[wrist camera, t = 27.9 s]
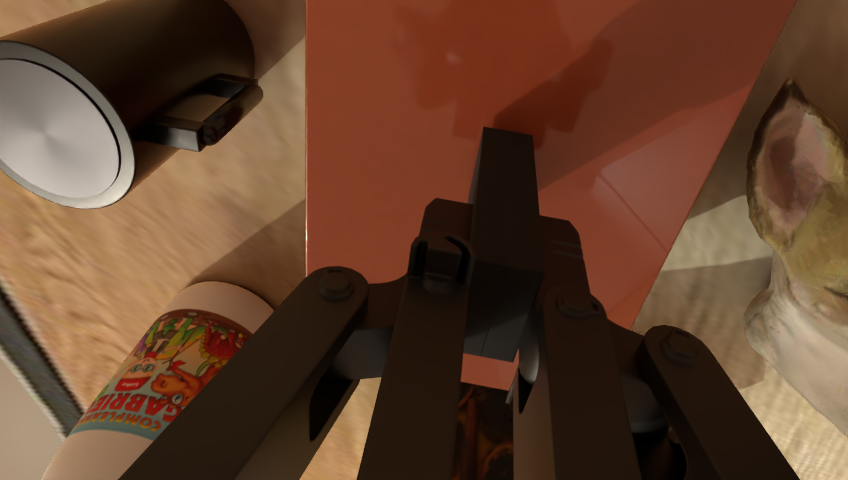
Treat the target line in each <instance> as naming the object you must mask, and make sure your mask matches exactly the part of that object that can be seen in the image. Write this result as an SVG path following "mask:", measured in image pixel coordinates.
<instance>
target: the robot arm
mask: <svg viewBox="0 0 848 480" xmlns="http://www.w3.org/2000/svg"><path fill="white" fill-rule="evenodd" d="M518 348H519V365H518V367H517V370H516V373H515V376H514V378H513V381H512V384H511V387H510V390H509V392H508V395H507V399H506V403H508V404H510V403H511V401H512V398H513V443H514V480H800V479H799V478H798V476H797V475H796V473H795V472H794V470H793V469H792V467H791V466H790V465H789V463H788V462H787V460H786V459H785V457H784V456H783V455H782V453H781V452H780V450H779V449H778V447H777V446H776V444H775V443H774V442H773V440H772V439H771V437H770V436H769V434H768V433H767V432H766V430H765V429H764V427H763V426H762V424H761V423H760V422H759V420H758V419H757V417H756V416H755V414H754V413H753V411H752V410H751V409H750V407H749V406H748V404H747V403H746V401H745V400H744V399H743V397H742V396H741V394H740V393H739V391H738V390H737V389H736V387H735V386H734V384H733V383H732V381H731V380H730V378H729V377H728V376H727V374H726V373H725V371H724V370H723V368H722V367H721V366H720V364H719V363H718V361H717V360H716V358H715V357H714V355H713V354H712V353H711V351H710V350H709V349H708V348H707V347H706V346H705V345H704V343H703V342H702V341H701V340H699V339H698V338H696V337H695V336H693V335H692V334H690V333H689V332H686V331H684V330H682V329H679V328H677V327H672V326H666V325H661V326H655V327H652V328H651V329H650V330H648V331H647V332H646V334H645V336H642V335H640V334H638V333H635V332H633V331H631V330H628V329H626V328H623V327H621V326H619V325H617V324H615V323H614V322H612V321H611V320H609V319H608V318H607V314H606V311H605V309H604V307H603V305H602V303H601V302H600V301H599V300H598V299H597V298H596V297H595V296H593V295H592V294H591V293H590V288H589V283H588V277H587V272H586V267H585V262H584V259H583V251H582V248H581V241H580V236H579V233H578V231H577V230H576V229H575V227H574V226H573V225H572V224H571V222H570V221H569V220H564V219H558V218H553V217H547V216H542V215H540V212H539V200H538V189H537V178H536V167H535V156H534V144H533V135H529V134H524V133H518V132H512V131H507V130H501V129H495V128H490V127H484V126H483V131H482V136H481V140H480V145H479V150H478V155H477V159H476V164H475V169H474V173H473V178H472V183H471V188H470V192H469V197H468V202H467V203H462V202H457V201H451V200H446V199H440V198H435V199H434V200H433V201H432V202H430V203H429V204H428V205H427V206H426V207H425V211H424V215H423V220H422V224H421V228H420V232H419V236H418V237H416V238H415V239H414V241H413V242H412V244H411V249H410V256H409V263H408V270H407V273H406V274H405V275H404V276H402V277H400V278H399V279H397V280H394V281H390V282H385V283H374V284H368V281H367V280H366V279H365V278H364V276H363V275H362V274H361V273H359V272H357V271H355V270H353V269H351V268H347V267H342V266H327V267H324V268H321V269H317V270H315V271H314V272H312V273H311V274H309V275H308V276H307V277H306V278H305V279H304V280H303V281H302V282H301V283H300V284H299V285H298V286H297V287H296V288H295V290H294V291H293V292H292V293H291V294H290V295H289V296H288V297H287V298H286V299H285V300H284V301H283V302H282V304H281V305H280V306H279V307H278V308H277V309H276V310H275V311H274V312H273V313H272V314H271V315H270V316H269V317H268V319H267V320H266V321H265V322H264V323H263V324H262V325H261V326H260V327H259V328H258V329H257V330H256V331H255V333H254V334H253V335H252V336H251V337H250V338H249V339H248V340H247V341H246V342H245V343H244V344H243V345H242V347H241V348H240V349H239V350H238V351H237V352H236V353H235V354H234V355H233V356H232V357H231V358H230V359H229V360H228V362H227V363H226V364H225V365H224V366H223V367H222V368H221V369H220V370H219V371H218V372H217V373H216V374H215V376H214V377H213V378H212V379H211V380H210V381H209V382H208V383H207V384H206V385H205V386H204V387H203V388H202V390H201V391H200V392H199V393H198V394H197V395H196V396H195V397H194V398H193V399H192V400H191V401H190V402H189V403H188V405H187V406H186V407H185V408H184V409H183V410H182V411H181V412H180V413H179V414H178V415H177V416H176V417H175V419H174V420H173V421H172V422H171V423H170V424H169V425H168V426H167V427H166V428H165V429H164V430H163V431H162V433H161V434H160V435H159V436H158V437H157V438H156V439H155V440H154V441H153V442H152V443H151V444H150V445H149V447H148V448H147V449H146V450H145V451H144V452H143V453H142V454H141V455H140V456H139V457H138V458H137V459H136V460H135V462H134V463H133V464H132V465H131V466H130V467H129V468H128V469H127V470H126V471H125V472H124V473H123V474H122V476H121V477H120V478H119V479H118V480H299V479H300V478H301V476H302V474H303V473H304V471H305V469H306V468H307V466H308V465H309V463H310V461H311V460H312V458H313V457H314V455H315V453H316V452H317V450H318V449H319V447H320V445H321V444H322V442H323V440H324V439H325V437H326V436H327V434H328V432H329V431H330V429H331V428H332V426H333V424H334V423H335V421H336V420H337V418H338V416H339V415H340V413H341V412H342V410H343V408H344V407H345V405H346V403H347V402H348V400H349V399H350V397H351V395H352V394H353V392H354V391H355V389H356V387H357V386H358V384H359V381H360V379H366V378H377V377H382V378H381V383H380V387H379V391H378V395H377V399H376V403H375V407H374V411H373V415H372V419H371V423H370V427H369V431H368V436H367V440H366V444H365V448H364V452H363V456H362V460H361V464H360V468H359V472H358V476H357V480H452V473H453V462H454V451H455V440H456V429H457V418H458V406H459V395H460V384H461V373H462V362H463V353H465V354H470V355H475V356H480V357H486V358H491V359H496V360H501V361H507V362H512V363H513V362H514V359H515V357H516V354H517V351H518Z"/></svg>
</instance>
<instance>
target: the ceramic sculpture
mask: <svg viewBox="0 0 848 480" xmlns="http://www.w3.org/2000/svg"><path fill="white" fill-rule="evenodd" d="M746 168H747V172H748V173H747V181H746V189H747V202H748V205H749V218H750V220H751V222H752V223H753V225H754V227H755V229H756V231H757V233H758V235H759V237H760V238H761V239H762V240H764V241H765V242H766V243H767V244H769V245H770V246H771V247H772V248H773V262H772V269H771V282H770V285H769V288H768V289H767V290H764V291H762V292H760V293H759V294H758V295H757V296H756V297H755V298H754V299H753V300H752V301H750V303H749V305H748V308H747V310H746V312H745V314H744V329H745V334H746V336H747V339H748V341H749V343H750V345H751V347H752V348H753V349H754V350H755V351H757V352H758V353H759V354H760V355H761V356H762V357H764V358H765V360H766V361H767V362H768V363H769V364H770V365H771V366H772V367H773V368H774V369H775V370H776V371H777V372H778V374H779V375H780V376H781V377H782V378H784V379H785V380H786V381H787V382H788V383H789V384H790V385H791V386H792V387H793V388H794V389H795V390H796V391H797V392H799V393H800V394H801V395H802V396H803V397H804V398H805V399H806V400H807V401H808V402H809V403H810V405H811V406H812V407H813V408H814V409H815V410H816V411H818V412H819V413H820V414H822V415H823V416H824V417H826V418H827V419H828V420H829V421H830V422H831V423H833V424H834V425H835V426H836V427H837V429H838V430H839V431H840V432H842V433H843V434H844V435H845V436H847V437H848V148H847V145H846V143H845V141H844V138H843V136H842V134H841V132H840V130H839V129H838V127H837V125H836V124H835V122H834V121H832V120H831V119H830V118H829V117H828V116H827V115H825V114H824V113H823V112H822V111H821V110H820V109H819V108H817V107H816V106H815V105H814V104H813V103H812V102H811V101H809V100H808V99H807V98H806V97H805V95H804V93H803V92H802V90H801V88H800V86H799V84H798V82H797V81H796V79H795V78H788V79H787V80H786V81H785V82H784V84H783V86H782V87H781V89H780V90H779V92H778V93H777V95H776V96H775V98H774V99H773V101H772V103H771V104H770V106H769V108H768V109H767V111H766V112H765V114H764V115H763V117H762V118H761V121H760V123H759V125H758V127H757V129H756V131H755V133H754V140H753V143H752V147H751V149H750V151H749V153H748V158H747V166H746Z"/></svg>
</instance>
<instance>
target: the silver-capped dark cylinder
mask: <svg viewBox="0 0 848 480" xmlns="http://www.w3.org/2000/svg"><path fill="white" fill-rule="evenodd" d="M253 72H254V52H253V47H252V43H251V40H250V37H249V35H248V32H247V30H246V28H245V26H244V24H243V23H242V21H241V20H240V18H239V17H238V15H237V14H236V13H235V12H234V10H233V9H232V8H231V7H230V6H229V5H228V4H227V3H226V2H225V1H224V0H110V1H107V2H104V3H101V4H98V5H95V6H92V7H89V8H86V9H83V10H80V11H77V12H74V13H71V14H68V15H65V16H62V17H59V18H56V19H53V20H50V21H47V22H44V23H41V24H38V25H35V26H32V27H29V28H26V29H23V30H20V31H17V32H14V33H11V34H9V35H6V36H3V37H0V169H1V170H2V171H3V172H4V173H5V174H6V175H8V176H9V177H10V178H11V179H13V180H14V181H15V182H17V183H18V184H19V185H21V186H23V187H24V188H26V189H27V190H29V191H31V192H32V193H34V194H36V195H38V196H40V197H42V198H44V199H47V200H49V201H51V202H54V203H57V204H60V205H64V206H68V207H72V208H79V209H96V208H103V207H106V206H110V205H112V204H114V203H116V202H118V201H119V200H121V199H122V198H123V197H125V196H126V195H127V194H128V193H129V192H130V191H132V190H133V189H134V188H135V187H136V186H137V185H139V184H140V183H141V182H142V181H143V180H144V179H146V178H147V177H148V176H149V175H150V174H151V173H153V172H154V171H155V170H156V169H157V168H158V167H160V166H161V165H162V164H163V163H164V162H165V161H167V160H168V159H169V158H170V157H171V156H172V155H174V154H175V153H176V152H177V151H178V150H179V149H180V148H181V149H186V150H192V151H197V152H200V151H202V150H203V149H204V148H205V147H206V146H211V145H215V144H216V143H217V142H219V141H220V140H221V139H222V138H223V137H224V136H225V135H226V134H227V133H228V132H229V131H230V130H231V129H232V128H233V127H234V126H235V125H236V124H238V123H239V122H240V121H241V120H242V119H243V118H244V117H245V116H246V115H247V114H248V113H249V112H250V111H251V110H252V109H253V108H254V107H255V106H256V105H258V104H259V103H260V102H261V101H262V99H263V90H262V89H261V87H260V86H258V80H257V79H253V78H252V77H253Z"/></svg>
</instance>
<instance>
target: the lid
mask: <svg viewBox="0 0 848 480" xmlns="http://www.w3.org/2000/svg"><path fill="white" fill-rule="evenodd" d="M796 1H797V0H306V66H305V278H306V277H307V276H308V275H309V274H311V273H312V272H314V271H315V270H317V269H321V268H324V267H327V266H342V267H347V268H351V269H353V270H355V271H357V272H359V273H361V274H362V275H363V276H364V278H365V279H366V280H367V281H368V284H374V283H385V282H390V281H394V280H397V279H399V278H400V277H402V276H404V275H405V274H406V273H407V270H408V263H409V256H410V249H411V244H412V242H413V241H414V239H415V238H416V237H418V236H419V232H420V228H421V224H422V220H423V215H424V211H425V207H426V206H427V205H428V204H429V203H430V202H432V201H433V200H434V199H435V198H440V199H446V200H451V201H457V202H462V203H467V202H468V197H469V192H470V188H471V183H472V178H473V173H474V169H475V164H476V159H477V155H478V150H479V145H480V140H481V136H482V131H483V126H484V127H490V128H495V129H501V130H507V131H512V132H518V133H524V134H529V135H533V144H534V156H535V167H536V178H537V189H538V200H539V212H540V215H542V216H547V217H553V218H558V219H564V220H569V221H570V222H571V224H572V225H573V226H574V227H575V229H576V230H577V231H578V233H579V236H580V241H581V248H582V251H583V259H584V262H585V267H586V272H587V277H588V283H589V288H590V293H591V294H592V295H593V296H595V297H596V298H597V299H598V300H599V301H600V302H601V303H602V305H603V307H604V309H605V311H606V314H607V318H608V319H609V320H611V321H612V322H614V323H615V324H617V325H619V326H621V327H623V328H626V329H628V330H630V329H631V327H632V325H633V324H634V322H635V320H636V318H637V316H638V314H639V312H640V310H641V308H642V306H643V304H644V302H645V300H646V298H647V296H648V294H649V292H650V290H651V288H652V286H653V284H654V282H655V280H656V278H657V276H658V274H659V272H660V270H661V268H662V266H663V264H664V262H665V260H666V258H667V256H668V254H669V252H670V250H671V248H672V246H673V244H674V242H675V240H676V239H677V237H678V235H679V233H680V231H681V229H682V227H683V225H684V223H685V221H686V219H687V217H688V215H689V213H690V211H691V209H692V207H693V205H694V203H695V201H696V199H697V197H698V195H699V193H700V191H701V189H702V187H703V185H704V183H705V181H706V179H707V177H708V175H709V173H710V171H711V169H712V167H713V165H714V163H715V161H716V159H717V157H718V155H719V153H720V152H721V150H722V148H723V146H724V144H725V142H726V140H727V138H728V136H729V134H730V132H731V130H732V128H733V126H734V124H735V122H736V120H737V118H738V116H739V114H740V112H741V110H742V108H743V106H744V104H745V102H746V100H747V98H748V96H749V94H750V92H751V90H752V88H753V86H754V84H755V82H756V80H757V78H758V76H759V74H760V72H761V70H762V68H763V67H764V65H765V63H766V61H767V59H768V57H769V55H770V53H771V51H772V49H773V47H774V45H775V43H776V41H777V39H778V37H779V35H780V33H781V31H782V29H783V27H784V25H785V23H786V21H787V19H788V17H789V15H790V13H791V11H792V9H793V7H794V5H795V3H796ZM518 365H519V348H518V351H517V354H516V357H515V359H514V362H513V363H512V362H507V361H501V360H496V359H491V358H486V357H480V356H475V355H470V354H465V353H463V362H462V373H461V382H465V383H470V384H475V385H480V386H486V387H491V388H496V389H501V390H506V391H509V390H510V387H511V384H512V381H513V378H514V376H515V373H516V370H517V367H518Z"/></svg>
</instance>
